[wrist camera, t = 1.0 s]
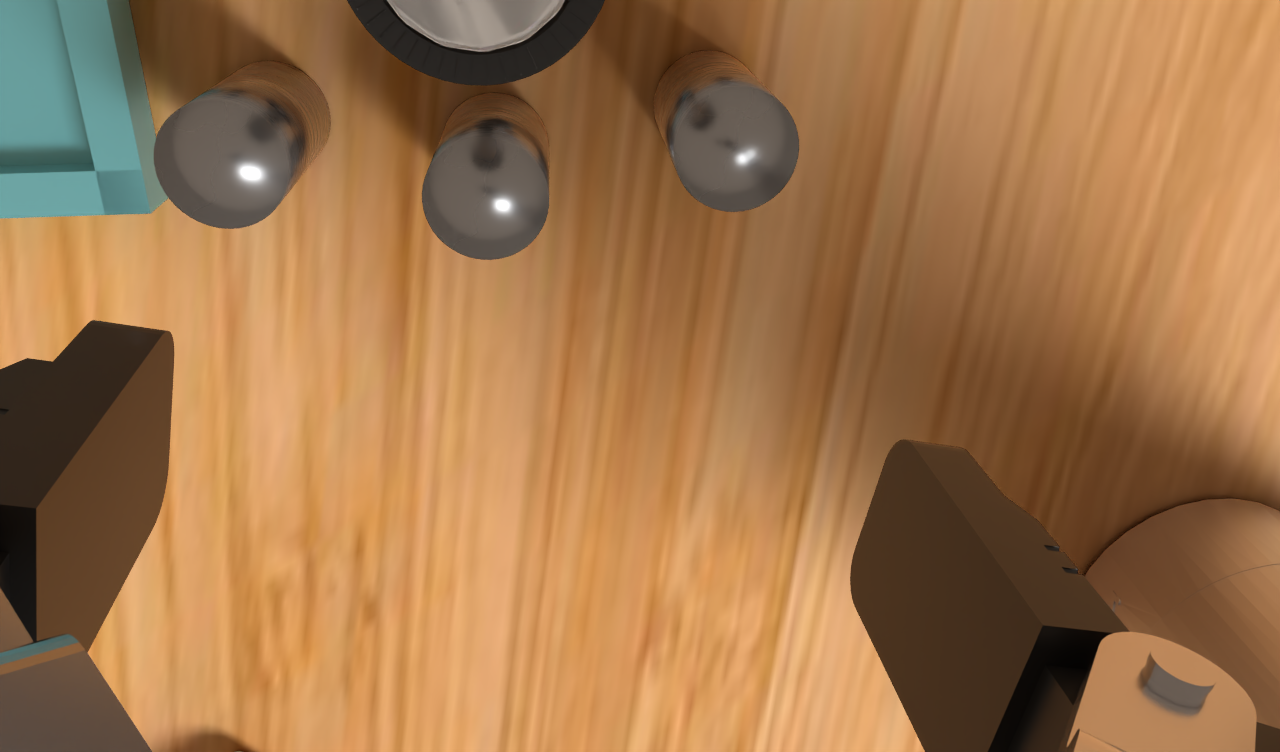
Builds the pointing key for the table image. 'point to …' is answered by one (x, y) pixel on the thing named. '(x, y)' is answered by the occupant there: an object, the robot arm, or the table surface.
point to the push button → (478, 35)
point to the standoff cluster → (468, 151)
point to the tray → (73, 111)
